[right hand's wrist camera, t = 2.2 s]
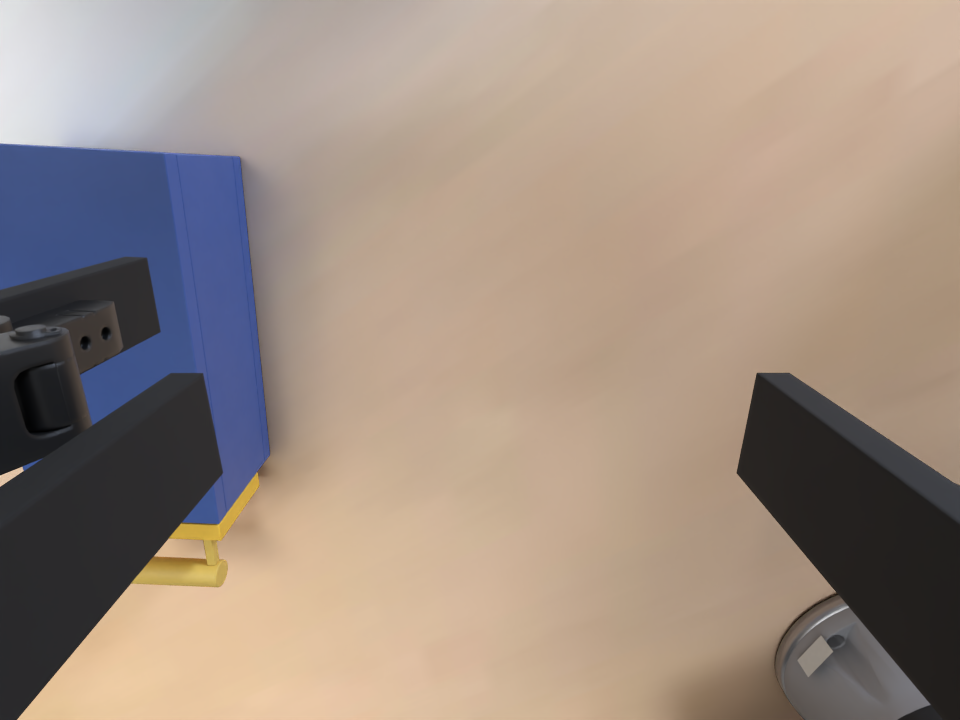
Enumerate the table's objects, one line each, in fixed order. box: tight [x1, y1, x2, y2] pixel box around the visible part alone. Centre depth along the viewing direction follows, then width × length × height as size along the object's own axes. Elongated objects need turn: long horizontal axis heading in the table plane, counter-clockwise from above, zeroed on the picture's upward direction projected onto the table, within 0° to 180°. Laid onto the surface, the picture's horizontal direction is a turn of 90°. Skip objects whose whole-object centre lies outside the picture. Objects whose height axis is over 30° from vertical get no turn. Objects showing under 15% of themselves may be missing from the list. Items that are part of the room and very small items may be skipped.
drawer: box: [131, 473, 259, 587], centre depth 33 cm, size 25×10×6 cm, turn 177°
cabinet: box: [0, 144, 270, 524], centre depth 31 cm, size 21×11×8 cm, turn 177°
